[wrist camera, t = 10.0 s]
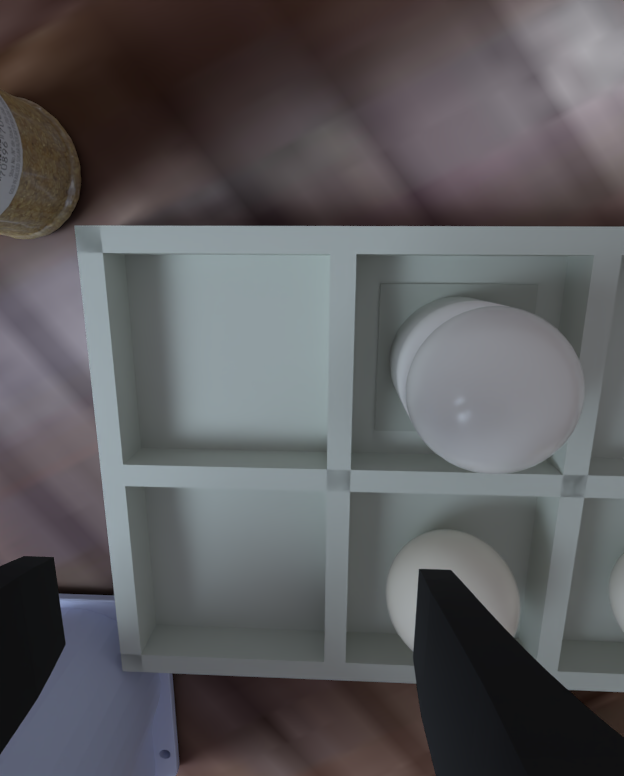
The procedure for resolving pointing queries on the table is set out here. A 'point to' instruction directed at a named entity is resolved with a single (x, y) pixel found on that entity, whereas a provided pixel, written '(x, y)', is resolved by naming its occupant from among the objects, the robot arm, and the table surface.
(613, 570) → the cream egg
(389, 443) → the egg tray
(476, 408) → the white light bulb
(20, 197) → the sprinkles bottle
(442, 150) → the table surface
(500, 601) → the cream egg middle
